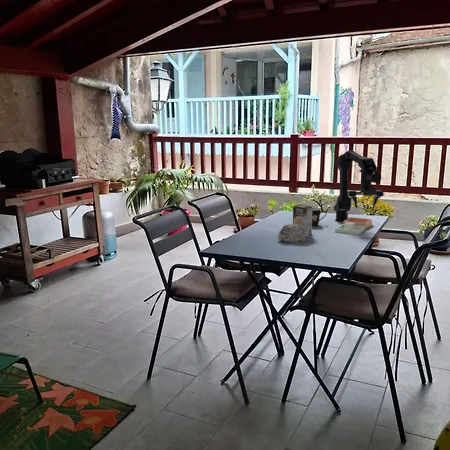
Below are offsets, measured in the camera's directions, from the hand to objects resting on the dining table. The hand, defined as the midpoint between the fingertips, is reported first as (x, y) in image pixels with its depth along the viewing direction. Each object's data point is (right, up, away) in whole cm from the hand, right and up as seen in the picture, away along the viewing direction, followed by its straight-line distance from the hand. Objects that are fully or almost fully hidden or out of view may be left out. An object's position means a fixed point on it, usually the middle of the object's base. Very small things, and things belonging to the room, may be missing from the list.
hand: (364, 208), depth 260 cm
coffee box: (-36, -15, -5) cm, 39 cm away
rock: (-44, -18, -18) cm, 50 cm away
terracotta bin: (-1, -10, +10) cm, 14 cm away
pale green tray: (-9, -13, -2) cm, 16 cm away
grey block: (-9, -13, -2) cm, 16 cm away
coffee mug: (-25, -10, +16) cm, 31 cm away
